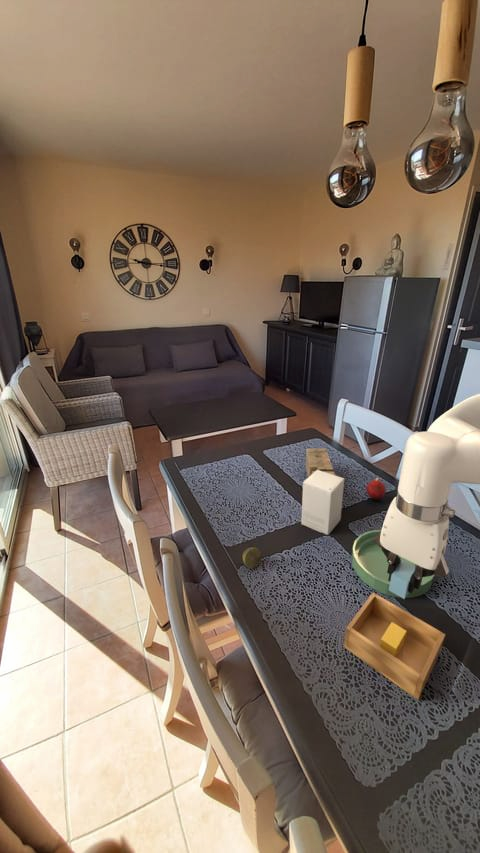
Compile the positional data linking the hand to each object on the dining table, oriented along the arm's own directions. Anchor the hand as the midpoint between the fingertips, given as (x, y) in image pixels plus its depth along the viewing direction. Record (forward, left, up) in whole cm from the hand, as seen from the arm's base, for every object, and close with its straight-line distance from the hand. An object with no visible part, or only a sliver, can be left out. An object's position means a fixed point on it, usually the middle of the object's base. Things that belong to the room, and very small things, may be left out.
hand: (402, 582), depth 69 cm
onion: (+24, -43, -16) cm, 52 cm away
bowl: (+8, -18, -15) cm, 25 cm away
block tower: (+40, -37, -16) cm, 57 cm away
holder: (-1, +3, -15) cm, 16 cm away
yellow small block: (-1, +3, -15) cm, 15 cm away
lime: (+35, +5, -16) cm, 39 cm away
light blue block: (0, 0, -1) cm, 1 cm away
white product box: (+31, -22, -16) cm, 41 cm away
